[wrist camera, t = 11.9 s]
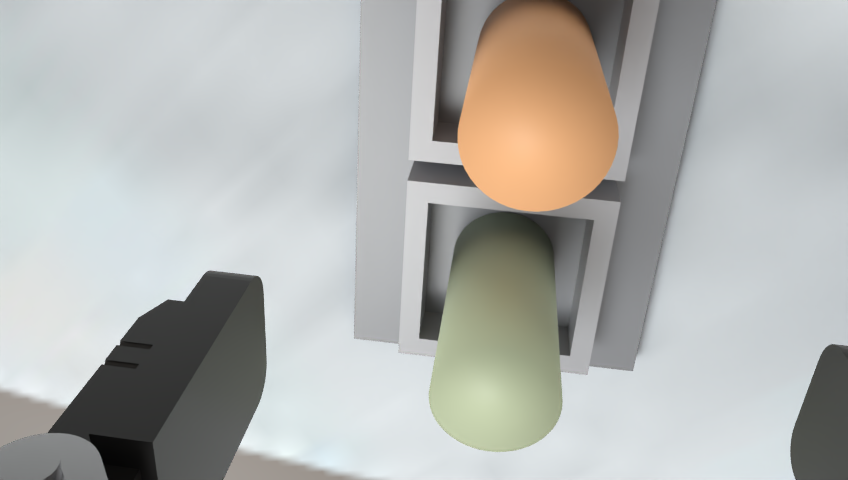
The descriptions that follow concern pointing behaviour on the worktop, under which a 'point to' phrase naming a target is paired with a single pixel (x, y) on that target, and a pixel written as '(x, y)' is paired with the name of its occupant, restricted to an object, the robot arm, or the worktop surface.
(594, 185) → the jaw peg orange
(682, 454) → the worktop surface
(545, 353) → the jaw peg olive
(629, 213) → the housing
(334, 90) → the worktop surface
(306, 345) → the worktop surface
